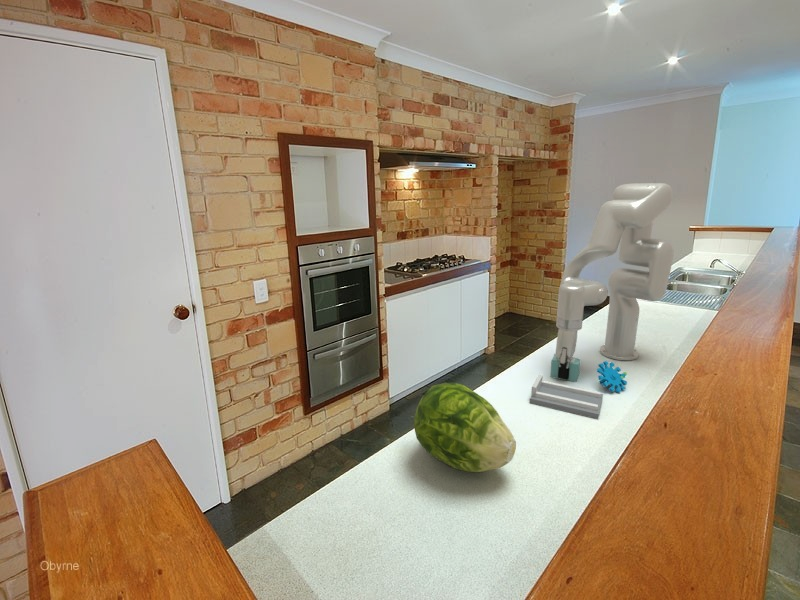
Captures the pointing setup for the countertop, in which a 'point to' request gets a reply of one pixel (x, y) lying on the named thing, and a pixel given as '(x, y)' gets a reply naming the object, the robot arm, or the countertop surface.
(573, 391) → the rail base
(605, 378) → the gear
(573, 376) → the block
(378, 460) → the countertop surface
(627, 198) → the robot arm
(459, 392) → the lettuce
